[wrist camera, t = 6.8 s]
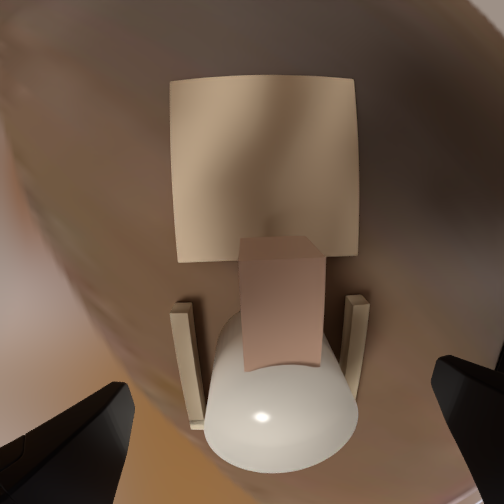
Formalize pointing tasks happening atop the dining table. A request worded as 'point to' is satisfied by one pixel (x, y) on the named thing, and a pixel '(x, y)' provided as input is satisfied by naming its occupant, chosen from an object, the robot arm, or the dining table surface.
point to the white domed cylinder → (278, 365)
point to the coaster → (263, 163)
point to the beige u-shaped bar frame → (190, 365)
